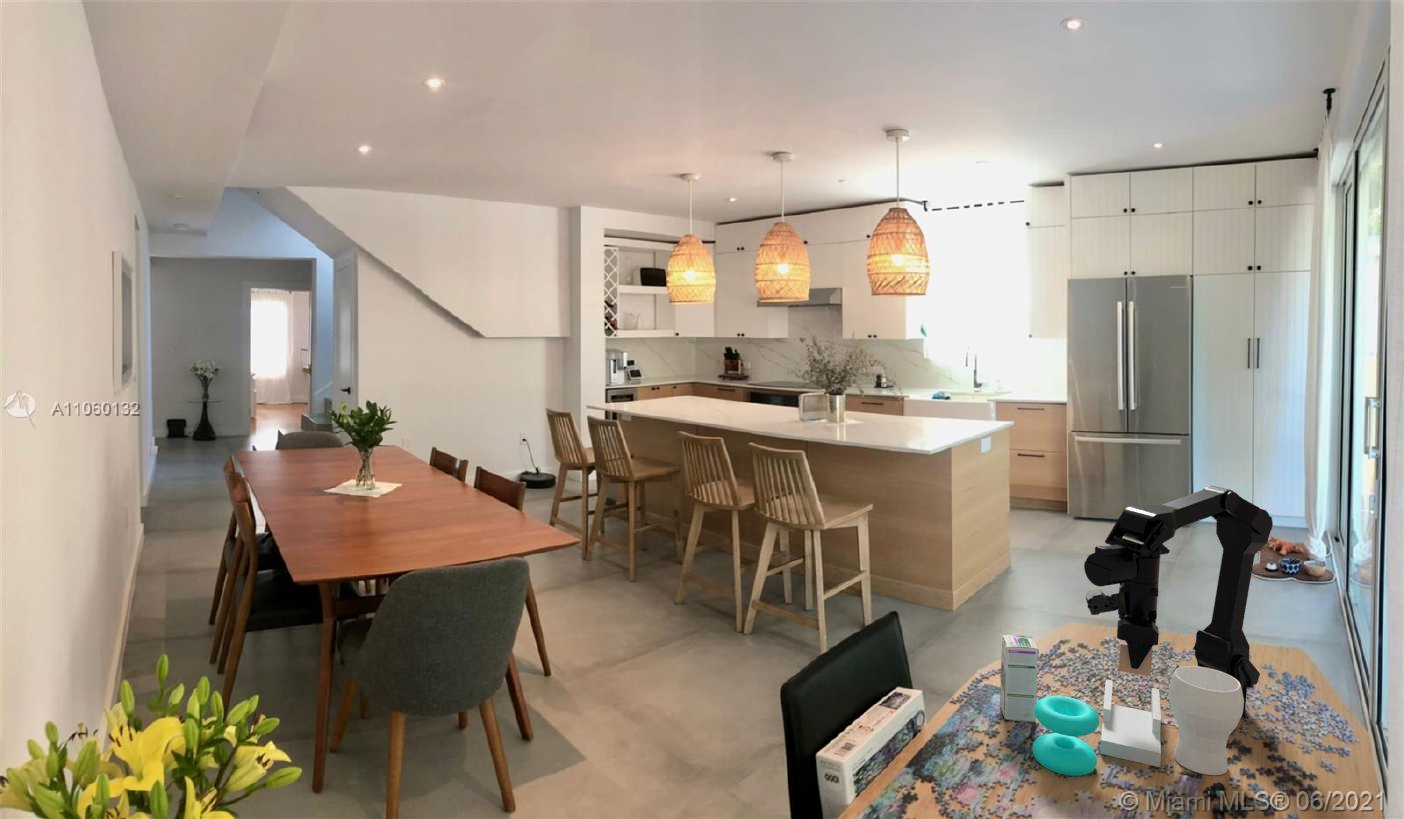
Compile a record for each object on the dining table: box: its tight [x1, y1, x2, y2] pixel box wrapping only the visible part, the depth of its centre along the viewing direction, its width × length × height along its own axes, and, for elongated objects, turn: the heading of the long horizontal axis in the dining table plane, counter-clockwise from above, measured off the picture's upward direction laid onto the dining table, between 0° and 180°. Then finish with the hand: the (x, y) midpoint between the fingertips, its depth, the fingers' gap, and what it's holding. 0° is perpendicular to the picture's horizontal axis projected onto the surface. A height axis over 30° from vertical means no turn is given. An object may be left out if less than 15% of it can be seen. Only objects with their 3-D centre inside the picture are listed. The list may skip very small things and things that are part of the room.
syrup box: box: [999, 634, 1039, 723], centre depth 153 cm, size 6×6×14 cm
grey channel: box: [1099, 678, 1162, 768], centre depth 147 cm, size 9×20×5 cm, turn 152°
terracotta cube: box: [1118, 640, 1153, 678], centre depth 146 cm, size 5×5×5 cm
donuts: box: [1031, 695, 1100, 777], centre depth 137 cm, size 10×10×10 cm
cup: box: [1168, 665, 1244, 776], centre depth 137 cm, size 11×11×15 cm
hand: (1134, 662), depth 146 cm, fingers closed on terracotta cube, 5 cm apart
